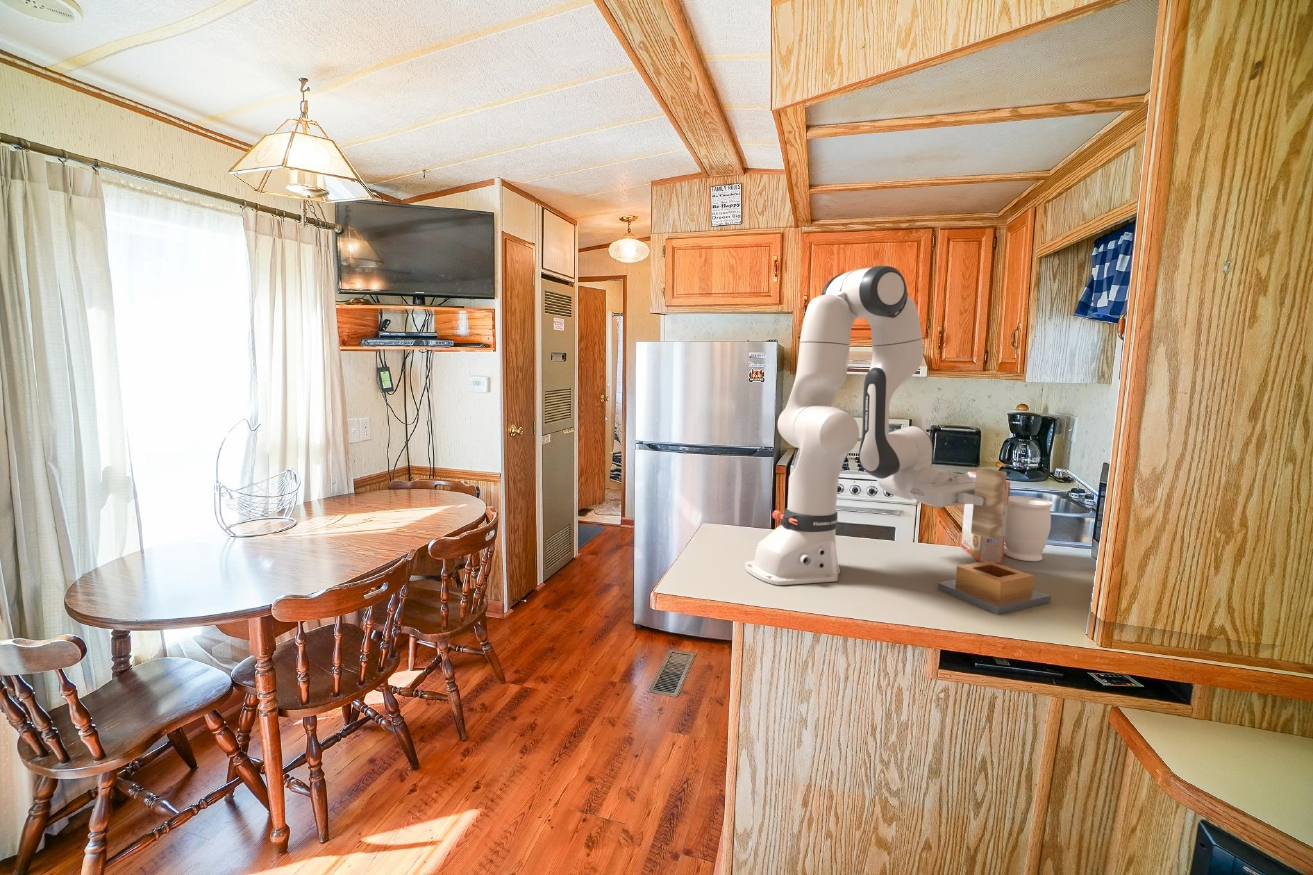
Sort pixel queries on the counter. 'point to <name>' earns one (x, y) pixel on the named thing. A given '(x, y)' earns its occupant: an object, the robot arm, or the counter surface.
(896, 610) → the counter surface
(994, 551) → the cracker box
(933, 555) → the counter surface
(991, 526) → the wedge pin
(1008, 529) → the jar
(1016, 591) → the socket base
